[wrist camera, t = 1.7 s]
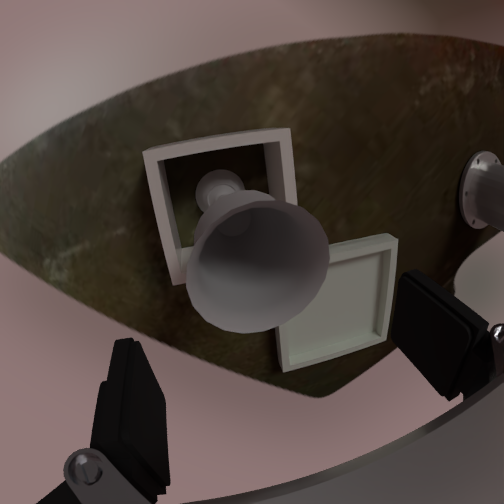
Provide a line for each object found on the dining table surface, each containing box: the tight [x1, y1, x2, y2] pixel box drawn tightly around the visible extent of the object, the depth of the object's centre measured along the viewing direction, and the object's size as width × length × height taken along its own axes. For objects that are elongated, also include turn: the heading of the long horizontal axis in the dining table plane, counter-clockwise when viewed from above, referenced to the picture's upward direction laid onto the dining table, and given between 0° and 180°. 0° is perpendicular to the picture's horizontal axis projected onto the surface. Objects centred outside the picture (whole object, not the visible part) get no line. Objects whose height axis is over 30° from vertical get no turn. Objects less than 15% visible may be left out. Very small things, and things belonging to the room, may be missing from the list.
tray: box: [275, 233, 398, 372], centre depth 38 cm, size 16×16×2 cm
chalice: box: [186, 170, 330, 333], centre depth 23 cm, size 7×7×18 cm
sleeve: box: [143, 128, 297, 285], centre depth 28 cm, size 12×12×6 cm
